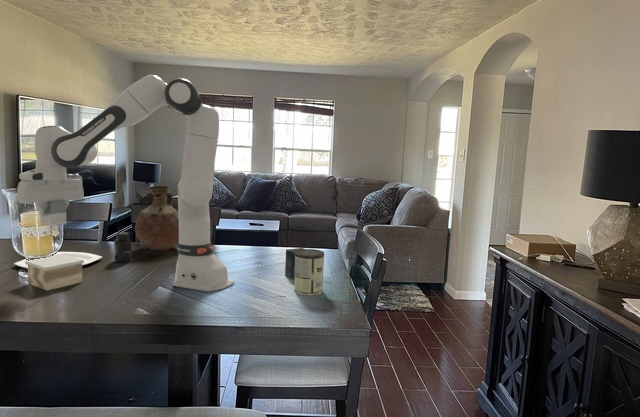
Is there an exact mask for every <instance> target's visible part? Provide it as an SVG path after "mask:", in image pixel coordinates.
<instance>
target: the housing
mask: <svg viewBox="0 0 640 417" xmlns="http://www.w3.org/2000/svg"><path fill="white" fill-rule="evenodd" d="M41 207H42V208H43V210H46V211H47V213H46V214H47V215H46V216H40V215H39V218H40V224H42V225H46V226H51V227H52V226H54V227H55V226H63V225H67V209H66V201H50V202H43V206H41Z"/></svg>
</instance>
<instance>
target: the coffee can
mask: <svg viewBox="0 0 640 417" xmlns="http://www.w3.org/2000/svg"><path fill="white" fill-rule="evenodd" d="M324 260H325V252H324V251H323V250H320V249H312V248H304V249H301V250H297V251H295V278H294V287H293V288H294V289H293V291H294V293H296V294H298V295H302V296H318V295H320V294H322V293H323V291H324V290H323V287H324V263H325V262H324Z"/></svg>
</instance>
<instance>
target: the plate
mask: <svg viewBox="0 0 640 417" xmlns="http://www.w3.org/2000/svg"><path fill="white" fill-rule="evenodd" d="M55 253H56V252H55ZM63 254H65V255H68V256H72V257H75V258H78V259H82V260H84V263H82V266H85V265H88V264H91V263H94V262H97V261H98V260H101V259H102V258H103V256H102V255H101V256H100V255H98V254H94V253H89V252H78V251H77V252H76V251H58V252H57V253H56V254H54V255H53V256H57V255H63ZM26 259H27V258H25V259H22V260H19V261H16V262H14V263H13V265H14V266H17V267H20V268H23V269H27V268H26V266H27V264H25V261H28V260H26Z"/></svg>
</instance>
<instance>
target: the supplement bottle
mask: <svg viewBox="0 0 640 417" xmlns="http://www.w3.org/2000/svg"><path fill="white" fill-rule="evenodd" d="M132 243H133V241H132V240H131V239H130V232H125V231H124V232H122V231H121V232H117V233H116V239H115V240H114V242H113V261H114V263H117V262H118V264H119V263H120V264H124V263H125V262H126V263H130V262H131V261H132V260H133V254H132V253H133V244H132ZM126 263H125V264H126Z"/></svg>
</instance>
